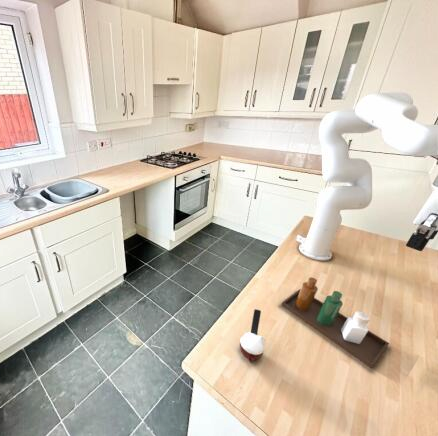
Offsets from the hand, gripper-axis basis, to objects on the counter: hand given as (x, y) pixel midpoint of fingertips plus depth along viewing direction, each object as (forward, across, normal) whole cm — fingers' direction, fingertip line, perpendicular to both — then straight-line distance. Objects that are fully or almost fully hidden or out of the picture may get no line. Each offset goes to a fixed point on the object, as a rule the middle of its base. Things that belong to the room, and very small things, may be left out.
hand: (419, 242), depth 67 cm
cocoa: (+28, +46, -14) cm, 56 cm away
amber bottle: (+28, +18, -14) cm, 36 cm away
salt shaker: (+28, +18, 0) cm, 33 cm away
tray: (+28, +18, -6) cm, 34 cm away
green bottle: (+28, +18, -7) cm, 34 cm away
